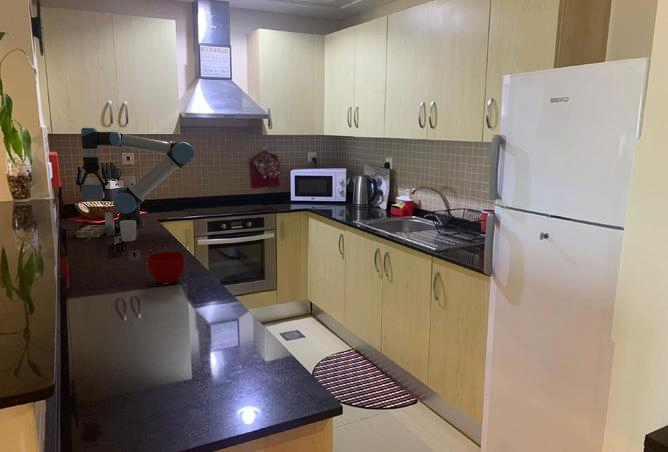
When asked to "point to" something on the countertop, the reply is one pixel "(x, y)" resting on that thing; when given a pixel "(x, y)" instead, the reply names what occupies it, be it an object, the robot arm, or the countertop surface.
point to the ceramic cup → (166, 266)
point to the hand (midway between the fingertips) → (93, 197)
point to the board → (91, 231)
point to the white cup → (128, 230)
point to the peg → (109, 224)
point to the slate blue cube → (91, 191)
